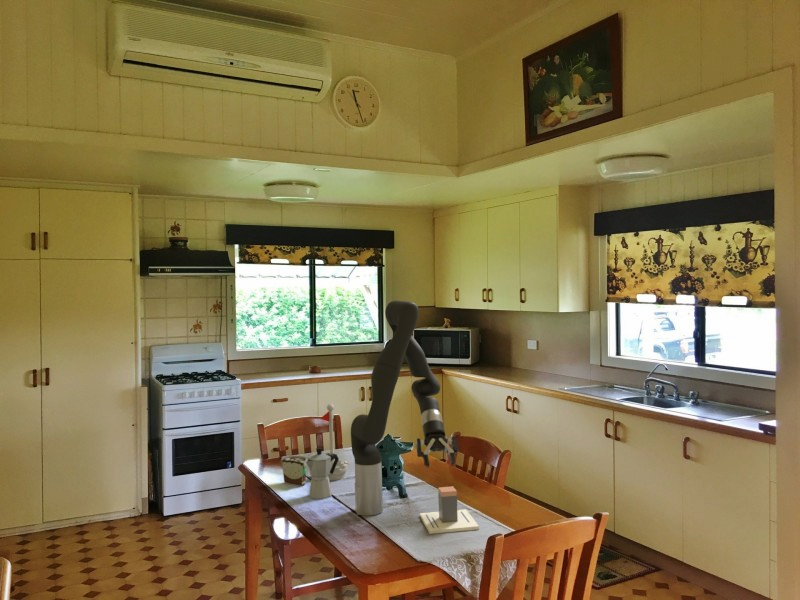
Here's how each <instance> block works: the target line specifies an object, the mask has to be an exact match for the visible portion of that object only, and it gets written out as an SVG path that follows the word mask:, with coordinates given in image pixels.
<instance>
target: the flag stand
mask: <svg viewBox="0 0 800 600" xmlns="http://www.w3.org/2000/svg"><path fill="white" fill-rule="evenodd" d="M326 409H327V410H328V411H327V412H326V413H325V414H324V415H323V416H321V417H320V419H322V420H323V421H326V422H328V425H329V426H328V428H329V430H328V431H329V432H328V433H329V454H335V452H334V451H335V450H334V448H335V447H334V419H333V417H334V416H333V414H334V413H333V411H334V409H335V405H334V404H332V403H329V404H327V405H326ZM334 460H335V459H334ZM334 460H332V461H331V462H330V470H331V468H332V465H333V463H334ZM348 470H349V462H348V461H347V460H345V461H343V459H339V460H338V462H337V465H336V467H335V470H334V472H333V474H331V473H329V475H328V477H329V481H338V480H339V481H340V480H342V479H344V478H346V477H347V471H348Z"/></svg>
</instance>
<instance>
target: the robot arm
mask: <svg viewBox="0 0 800 600" xmlns="http://www.w3.org/2000/svg"><path fill="white" fill-rule="evenodd" d="M419 310H420V309H419V307H418V304H416V303H415V302H413V301H408V300H407V301H406V300H392V301H390V302H389V303H388V304H387V305H386V307H385V311H384V312H385V313H384V314H385V319H386V321H387V323H388V326H389V327H390V329H391V331H392V332H393V336H392V338H391V340H390V341H389V342H388V344H386V346H385V347H384V348H383V349H382V350H381V351H380V353H379V354H378V355H377V357H376V359H375V362H374V365H373V368H372V369H373V370H372V372H371V377H370V383H371V384H370V385H371V394H372V395H371V397H372V399H371V405H370V408H369V411H368V414H364V413H363V414H359V415H357V416H355V418H354V419H353V420H352V422H351V426H350V442H351V454H352V457H353V458H354V477H355V478H354V479H355V480H354V499H355V500H354V501H355V504H354V505H355V506H354V507H355V512H356V514H357V516H358V515H359V516H360V515H361V516H374V515H375V516H376V515H378V514H381V513H383V511H384V507H383V505H384V504H383V502H384V500H383V474H382V473H383V471H382V467H383V466H382V453H381V452H380V450H379V449H378V448H377V446H376V444H378V443H379V442H380V441H381V440H382V439H383V437H384V435H385V432H386V428H387V423H388V417H389V411H390V407H391V404H392V399H393V396H394V392H395V388H396V386H397V382H398V380H399V377H400V372H401V370H402V366H403V361H404V358H405V360H406V363H407V365H408V368H409V371H410V374H411V376H412V377H413V378H420V379H417V380H414V381H413V382H412V383H411V387H410V388H411V392H412V394H413V396H414V398H415V399H416V401H417V403H418V406H419V411H420V417H421V418H420V419H421V426H422V432H423V437H424V439H420V438H416V442H415V445H416V454H417V455H416V456H417V457H418V458H420V457H421V458H422V459H423V463H424V466H425V468H429V467H430V460H429V455H430V453H431V452H444V453H445V454H447V455H448V457H449V463H450V466H451V467H452V466H454V465H455V463H456V457H455V456H456V455H458V453H459V447H458V444H457V443H458V442H457V438H456V436H453V435H452V436H451V437H447V436H446V431H445V425H444V420H443V416H442V414H441V409H440V405H439V400H438V399H437V398H435V397H432V396H436V395H438V394H439V393H440V391H441V384H440V382H439V379H438V378H437V377H436V375H434V373H433V372H432V370H431V368H430V366H429V363H428V360H427V357H426V355H425V352H424V350H423V349H422V347H421V346H420V344H419V343H418V342H417V340H416V339H415V338H414V336H413V333H414V331H415V328H416V326H417V322H418V321H419V315H420V313H419V312H420V311H419ZM448 443H449V444H450V445H451V446H450V445H449V444H448ZM423 445H425V446H426V447H425V449H424V451H422V447H423ZM451 447H452V448H451Z"/></svg>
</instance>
